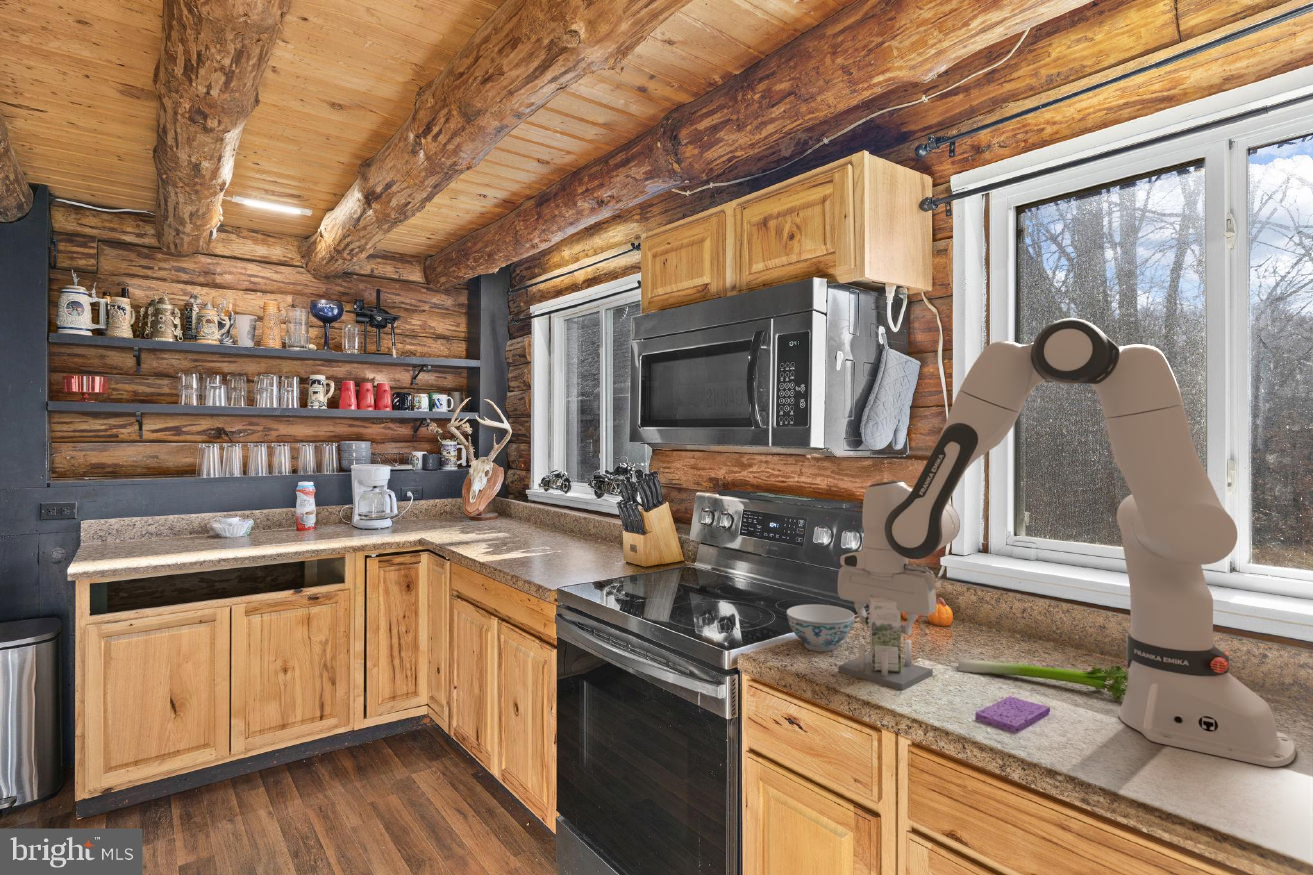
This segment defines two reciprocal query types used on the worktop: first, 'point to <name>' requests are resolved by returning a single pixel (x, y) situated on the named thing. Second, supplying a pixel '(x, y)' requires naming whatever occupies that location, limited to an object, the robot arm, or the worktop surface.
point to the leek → (1054, 674)
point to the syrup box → (885, 633)
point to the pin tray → (886, 669)
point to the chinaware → (820, 625)
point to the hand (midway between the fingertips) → (885, 628)
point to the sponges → (1012, 714)
